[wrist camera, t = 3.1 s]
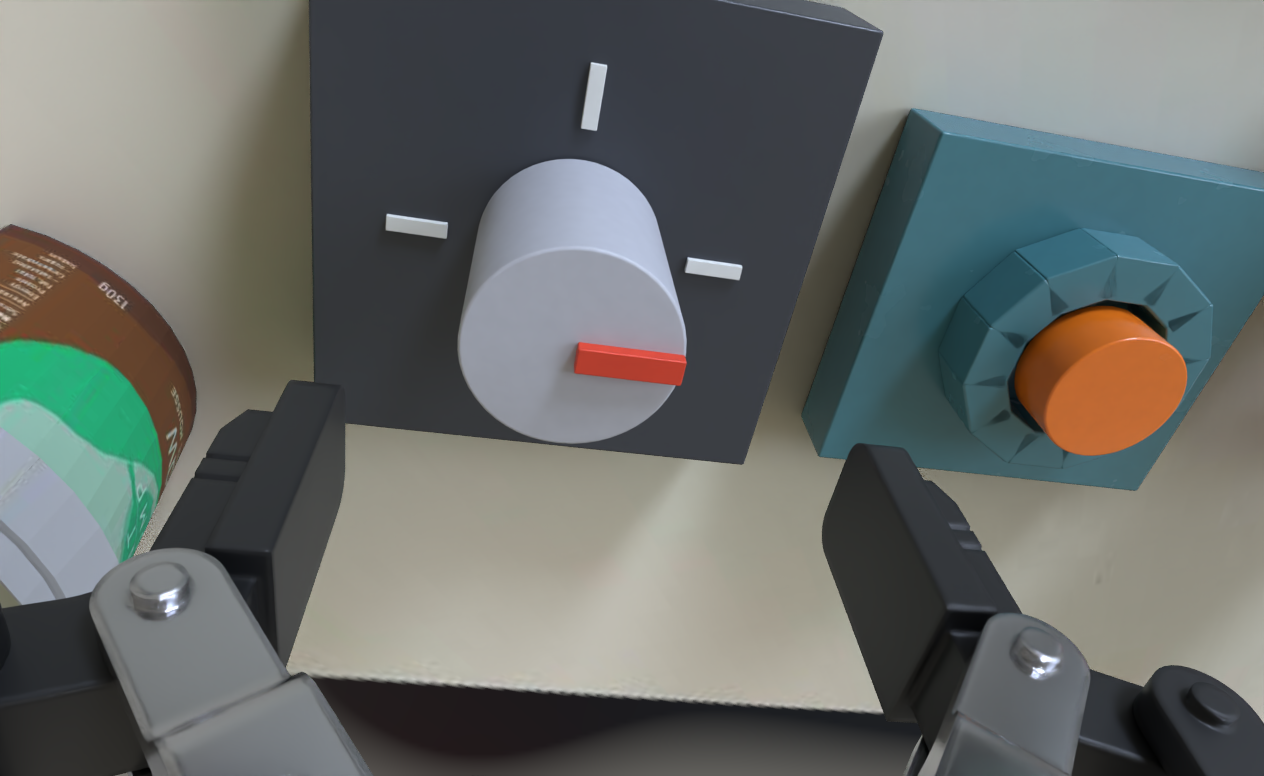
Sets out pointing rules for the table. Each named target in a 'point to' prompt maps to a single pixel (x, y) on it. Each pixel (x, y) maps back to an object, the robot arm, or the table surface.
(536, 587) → the table surface
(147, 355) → the food container
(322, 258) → the panel
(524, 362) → the program knob
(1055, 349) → the button
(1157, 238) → the block
